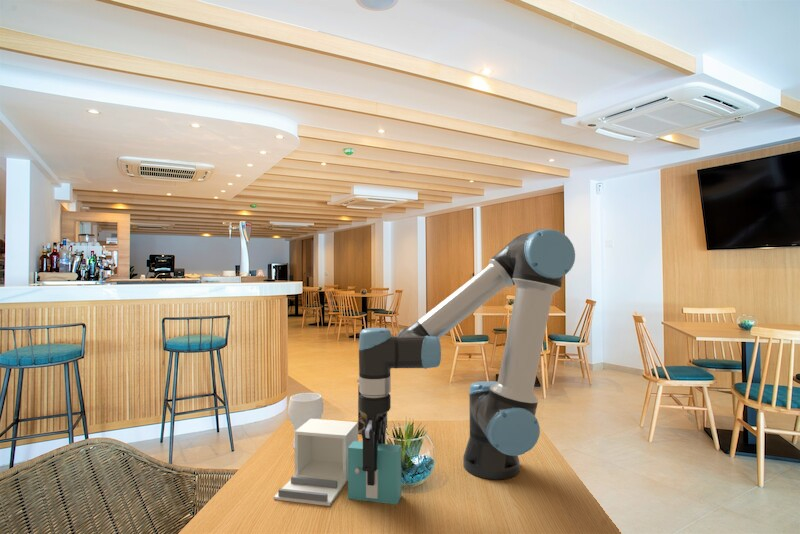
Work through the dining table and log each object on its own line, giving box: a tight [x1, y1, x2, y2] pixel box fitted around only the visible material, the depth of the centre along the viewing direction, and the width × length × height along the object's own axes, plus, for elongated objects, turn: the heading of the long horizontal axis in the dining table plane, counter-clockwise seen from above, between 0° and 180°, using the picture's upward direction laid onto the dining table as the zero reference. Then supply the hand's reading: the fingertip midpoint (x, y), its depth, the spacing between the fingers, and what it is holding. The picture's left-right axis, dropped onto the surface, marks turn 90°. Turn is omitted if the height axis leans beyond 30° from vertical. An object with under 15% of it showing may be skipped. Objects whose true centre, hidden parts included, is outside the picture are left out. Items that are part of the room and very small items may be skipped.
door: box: [347, 441, 402, 505], centre depth 102 cm, size 12×5×12 cm, turn 78°
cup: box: [287, 392, 324, 450], centre depth 133 cm, size 11×11×15 cm
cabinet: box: [273, 418, 359, 507], centre depth 110 cm, size 14×21×12 cm, turn 168°
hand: (374, 492), depth 102 cm, fingers closed on door, 4 cm apart
